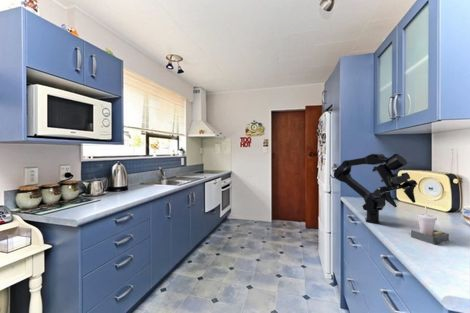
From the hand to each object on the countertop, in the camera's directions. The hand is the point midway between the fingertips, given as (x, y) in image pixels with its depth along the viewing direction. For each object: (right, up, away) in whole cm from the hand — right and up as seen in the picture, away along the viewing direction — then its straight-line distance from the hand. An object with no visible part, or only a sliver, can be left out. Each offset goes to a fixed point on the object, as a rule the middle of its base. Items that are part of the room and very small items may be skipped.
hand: (405, 204), depth 104 cm
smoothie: (+4, -13, -7) cm, 15 cm away
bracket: (+4, -13, -8) cm, 16 cm away
